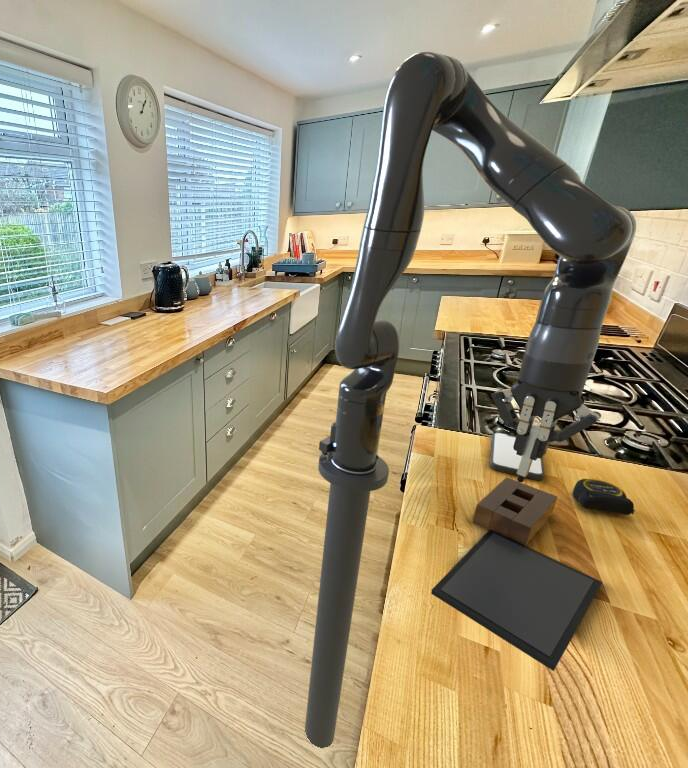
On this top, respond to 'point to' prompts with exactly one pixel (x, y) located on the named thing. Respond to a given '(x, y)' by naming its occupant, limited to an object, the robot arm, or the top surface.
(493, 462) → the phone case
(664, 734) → the top surface
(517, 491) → the pen stand
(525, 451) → the grey square rod
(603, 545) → the top surface
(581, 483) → the tape measure
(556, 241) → the robot arm
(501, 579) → the tablet
